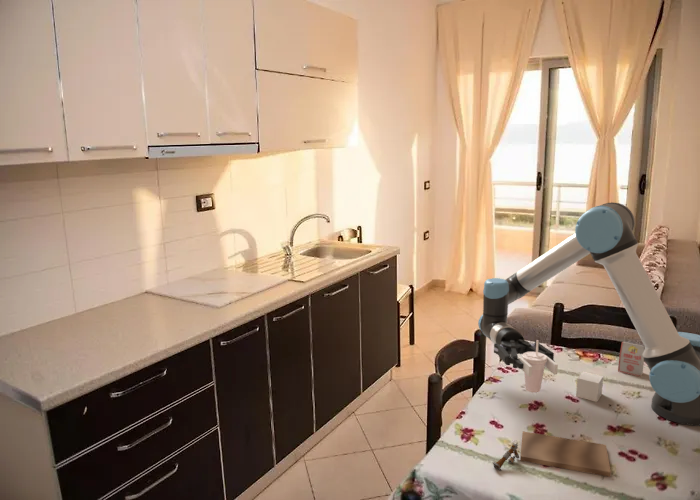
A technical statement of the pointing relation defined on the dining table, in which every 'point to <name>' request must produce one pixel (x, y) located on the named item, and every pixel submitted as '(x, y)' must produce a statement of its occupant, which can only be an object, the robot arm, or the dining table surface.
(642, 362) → the small printed carton
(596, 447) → the walnut board
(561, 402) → the dining table surface
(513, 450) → the wooden post with brackets
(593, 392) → the off-white cube
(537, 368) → the smoothie
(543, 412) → the dining table surface
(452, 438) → the dining table surface
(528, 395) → the dining table surface
